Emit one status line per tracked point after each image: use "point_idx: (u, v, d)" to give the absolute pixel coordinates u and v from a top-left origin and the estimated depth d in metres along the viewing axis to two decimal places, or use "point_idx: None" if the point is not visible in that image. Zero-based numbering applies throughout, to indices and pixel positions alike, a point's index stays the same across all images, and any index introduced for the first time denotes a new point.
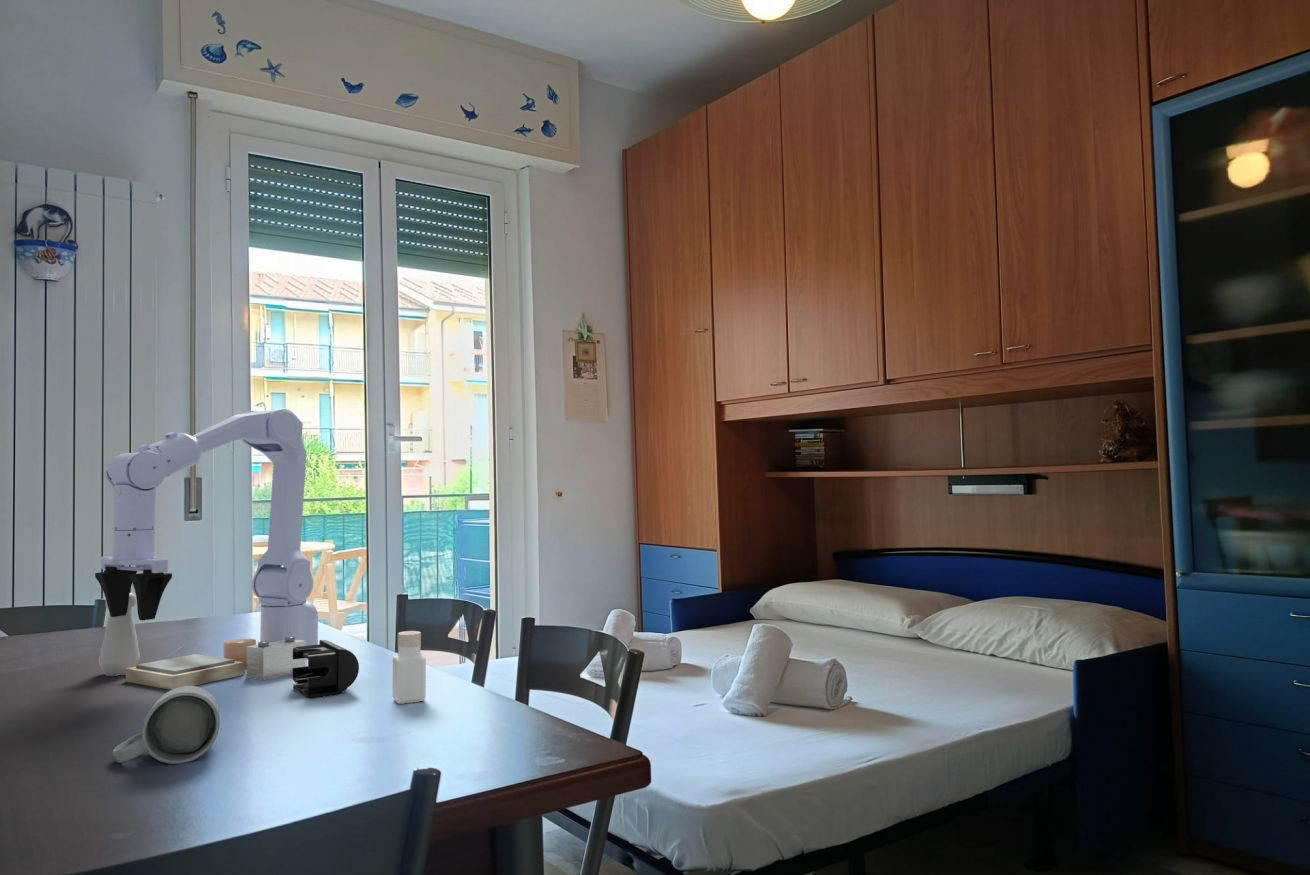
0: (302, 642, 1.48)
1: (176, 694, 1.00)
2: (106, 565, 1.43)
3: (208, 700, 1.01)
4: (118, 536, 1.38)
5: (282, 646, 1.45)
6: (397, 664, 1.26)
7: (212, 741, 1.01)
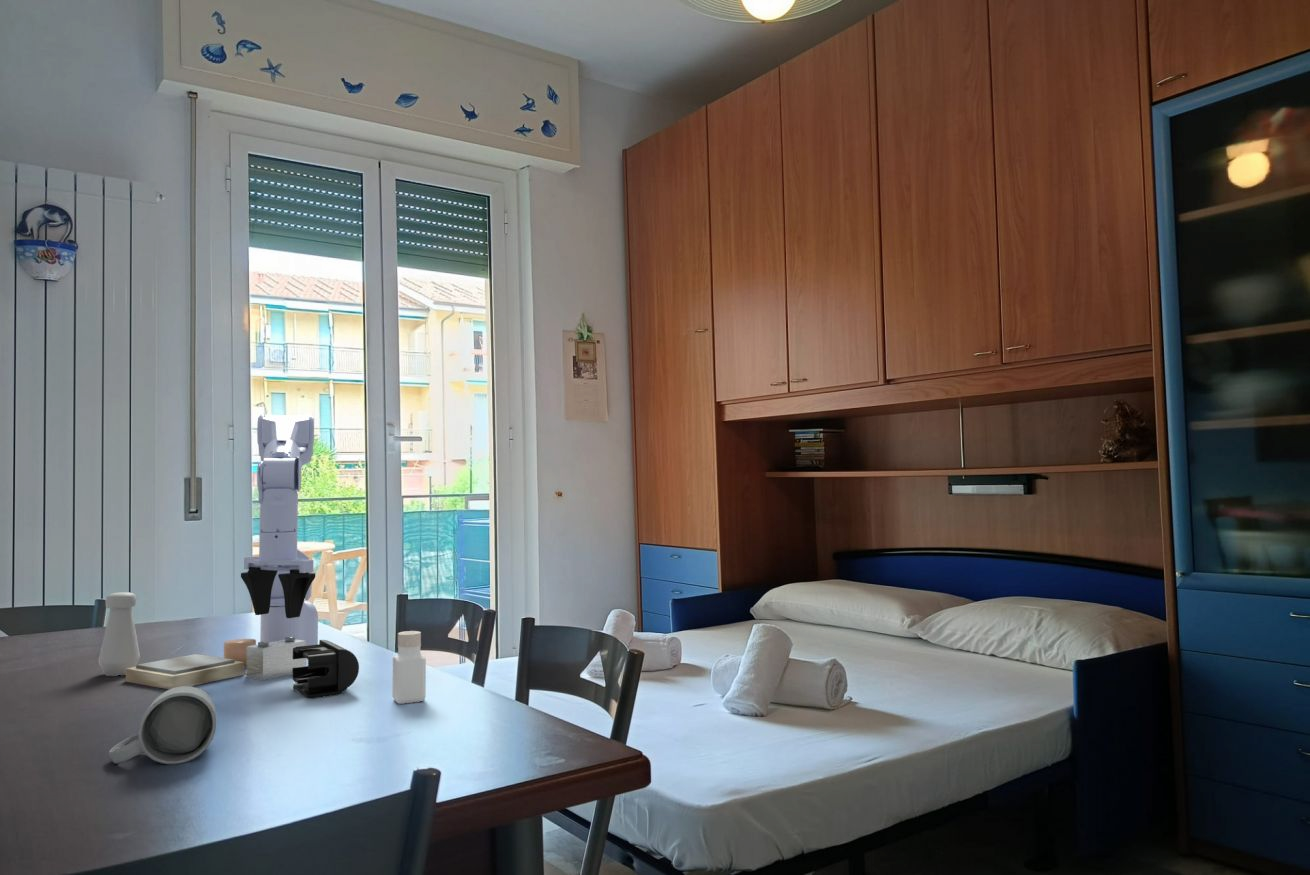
0: (302, 642, 1.48)
1: (172, 694, 1.00)
2: (249, 565, 1.49)
3: (205, 700, 1.01)
4: (266, 537, 1.44)
5: (282, 646, 1.45)
6: (397, 664, 1.26)
7: (209, 741, 1.01)
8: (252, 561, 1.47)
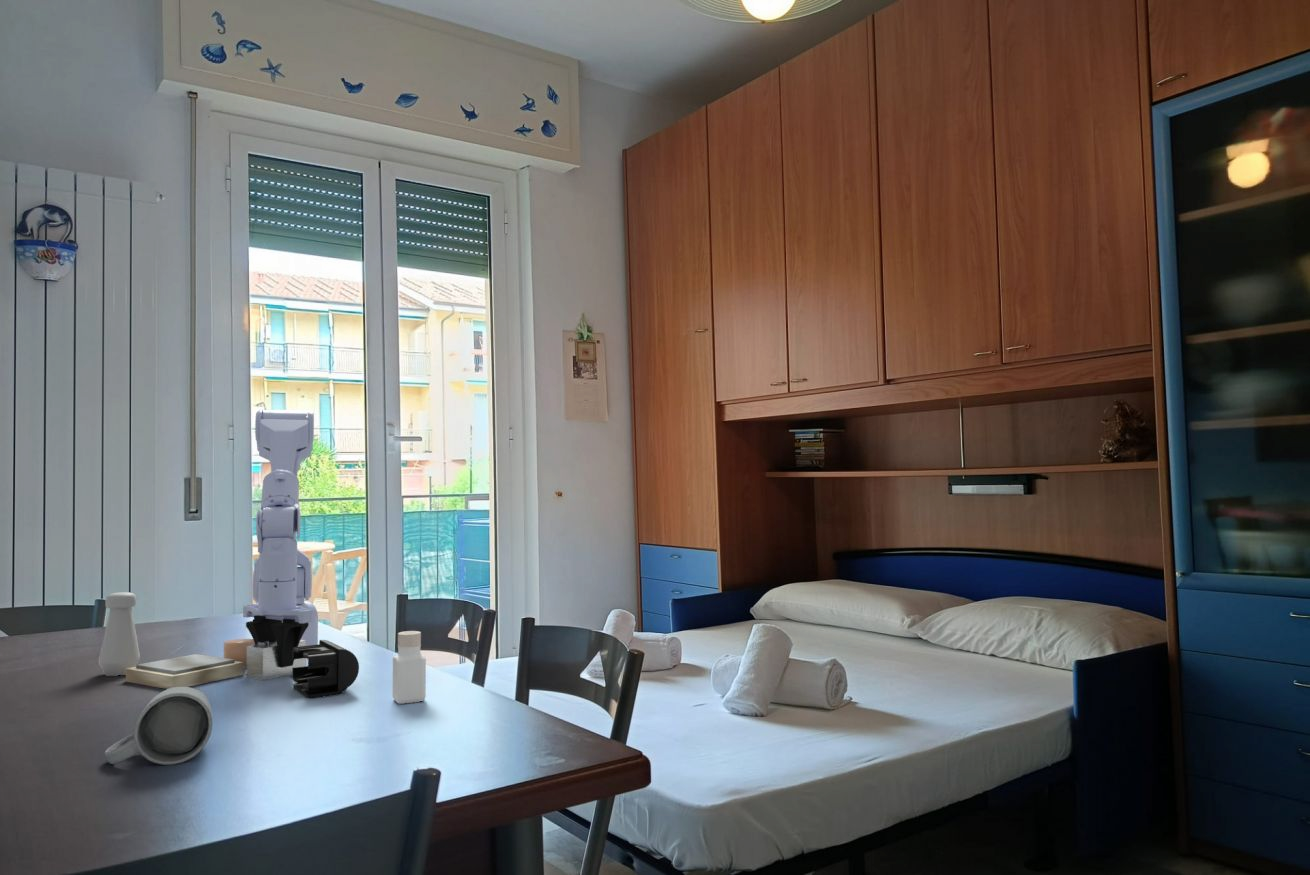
0: (302, 642, 1.48)
1: (168, 695, 1.00)
2: (248, 613, 1.49)
3: (201, 701, 1.01)
4: (265, 587, 1.44)
5: None
6: (397, 664, 1.26)
7: (205, 742, 1.01)
8: (251, 610, 1.47)
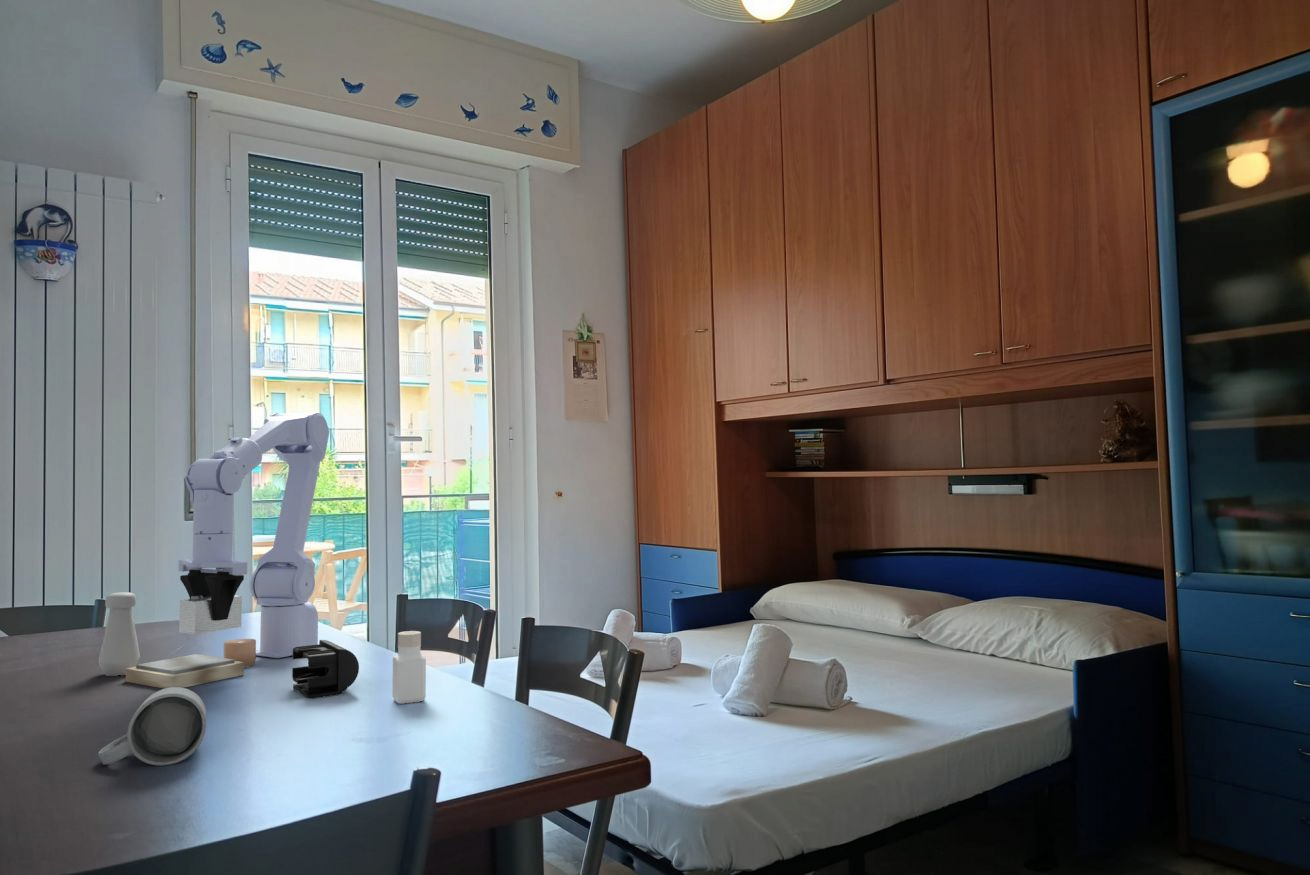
0: (238, 597, 1.46)
1: (162, 695, 0.99)
2: (184, 568, 1.47)
3: (194, 701, 1.01)
4: (199, 539, 1.42)
5: None
6: (397, 664, 1.26)
7: (198, 743, 1.00)
8: (186, 564, 1.45)
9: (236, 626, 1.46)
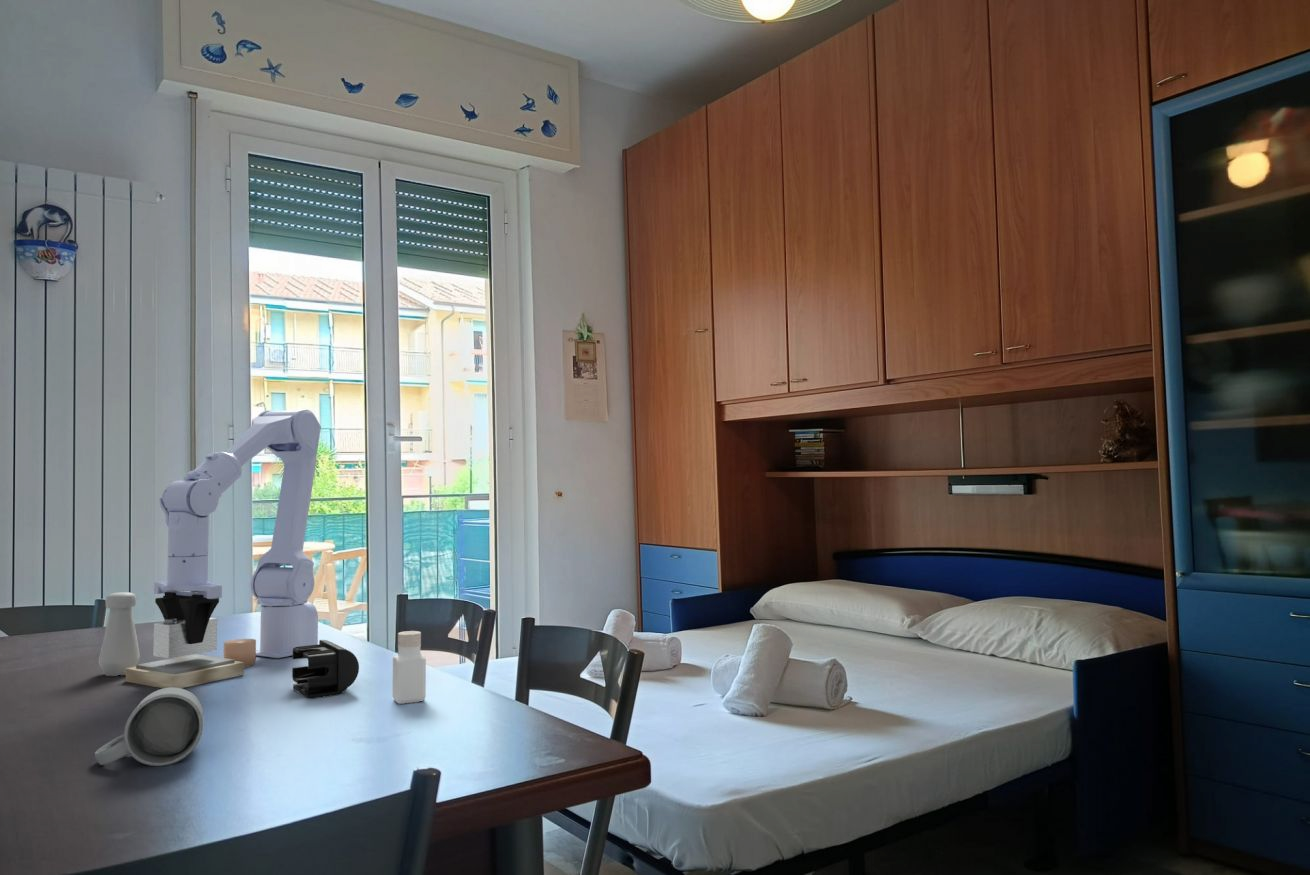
0: (213, 620, 1.45)
1: (159, 696, 0.99)
2: (159, 590, 1.46)
3: (191, 702, 1.00)
4: (174, 562, 1.41)
5: None
6: (397, 664, 1.26)
7: (195, 743, 1.00)
8: (161, 586, 1.44)
9: (211, 649, 1.45)
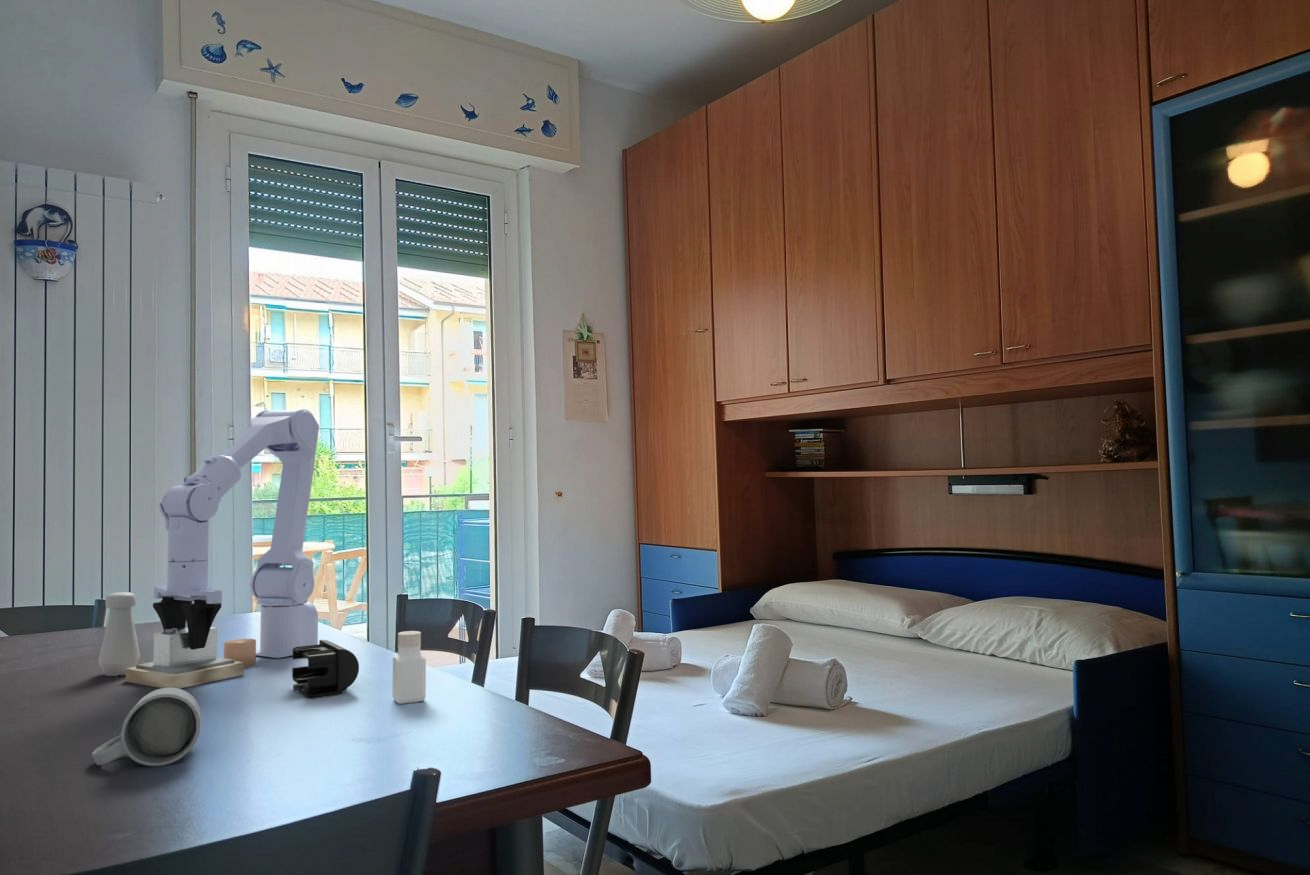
0: (213, 629, 1.45)
1: (156, 696, 0.99)
2: (159, 595, 1.46)
3: (188, 702, 1.00)
4: (174, 567, 1.41)
5: None
6: (397, 664, 1.26)
7: (192, 743, 1.00)
8: (161, 591, 1.44)
9: (211, 658, 1.45)
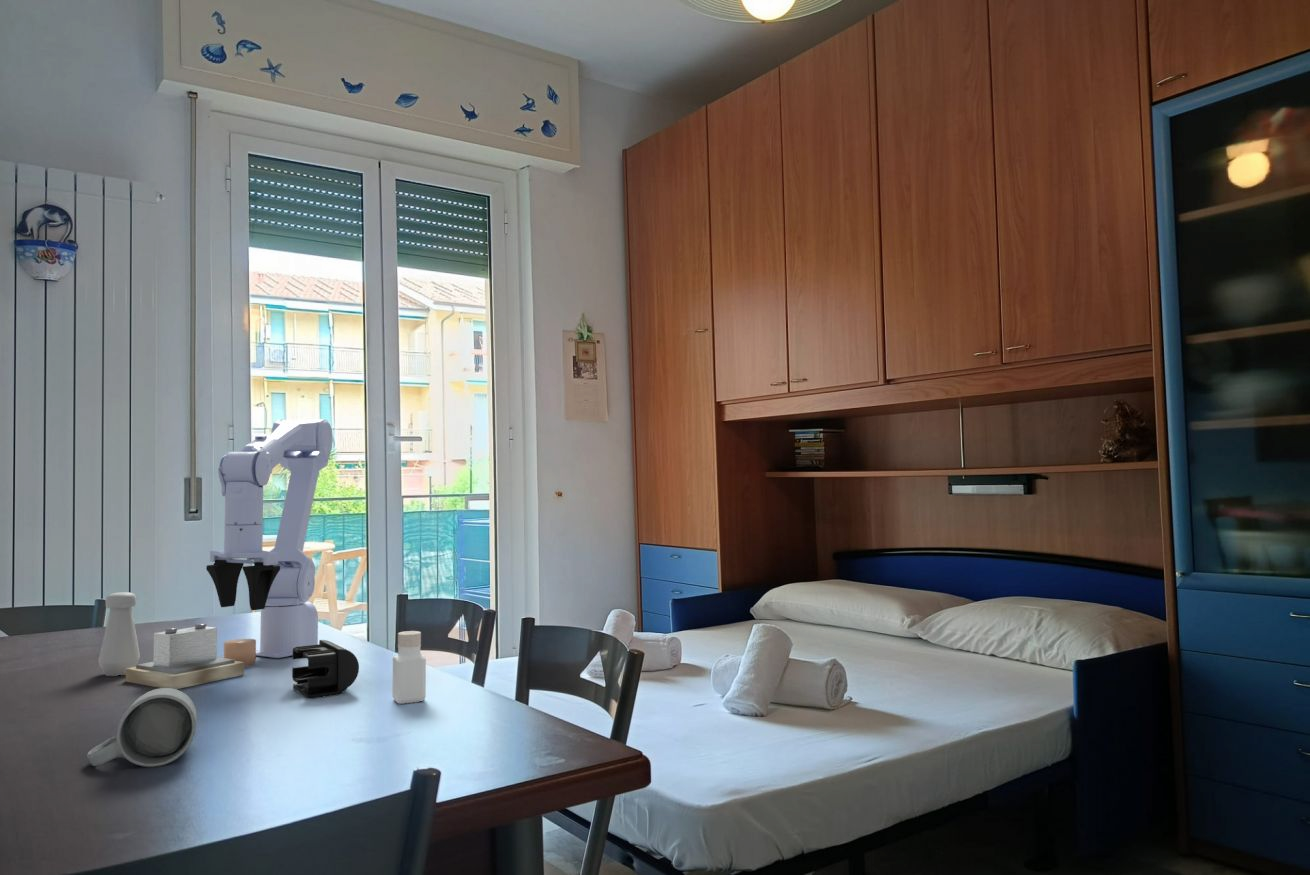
0: (213, 629, 1.45)
1: (151, 696, 0.99)
2: (215, 558, 1.50)
3: (184, 702, 1.00)
4: (231, 530, 1.45)
5: (191, 633, 1.42)
6: (397, 664, 1.26)
7: (188, 744, 1.00)
8: (217, 554, 1.49)
9: (211, 658, 1.45)
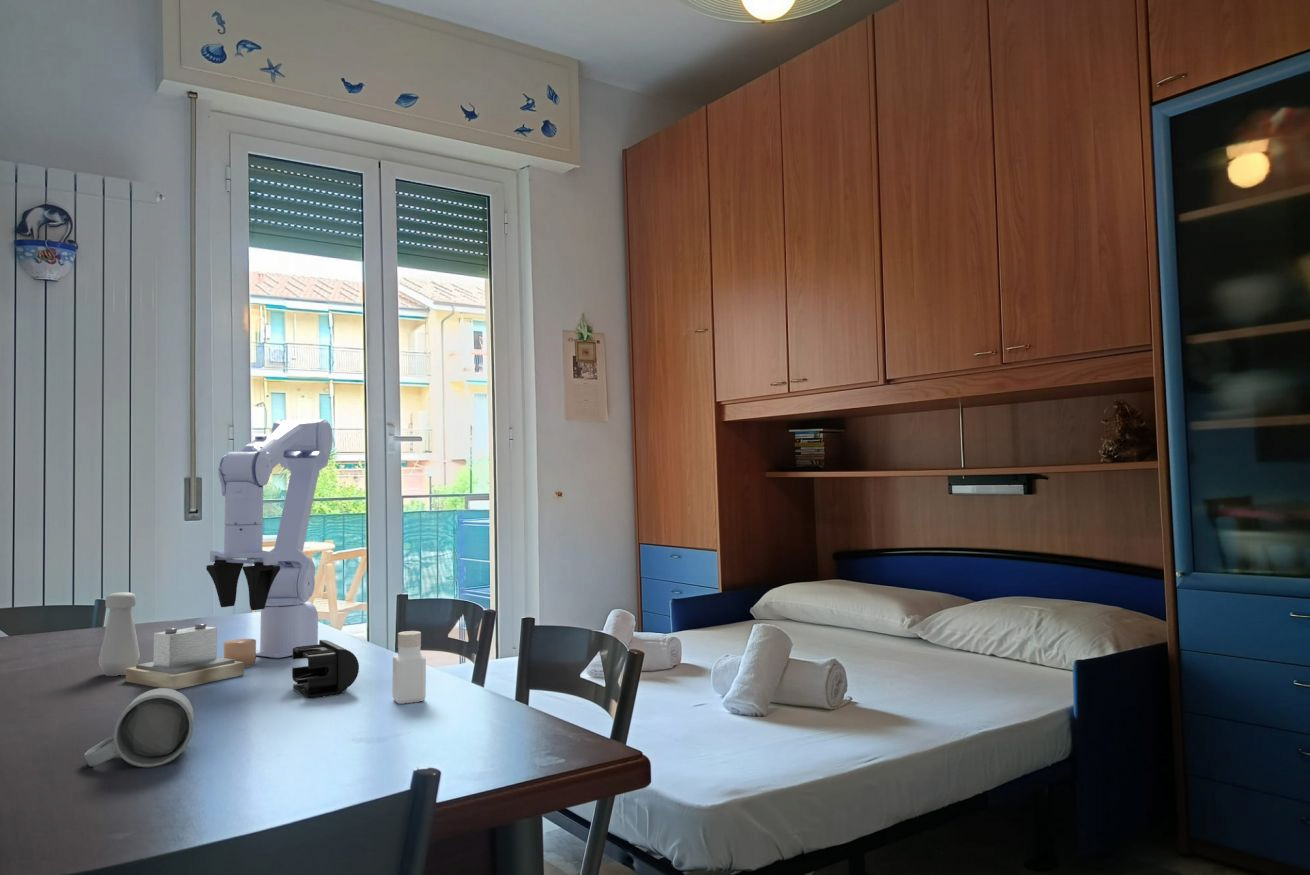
0: (213, 629, 1.45)
1: (148, 697, 0.99)
2: (215, 558, 1.50)
3: (181, 703, 1.00)
4: (231, 530, 1.45)
5: (191, 633, 1.42)
6: (397, 664, 1.26)
7: (185, 744, 1.00)
8: (217, 554, 1.49)
9: (211, 658, 1.45)
